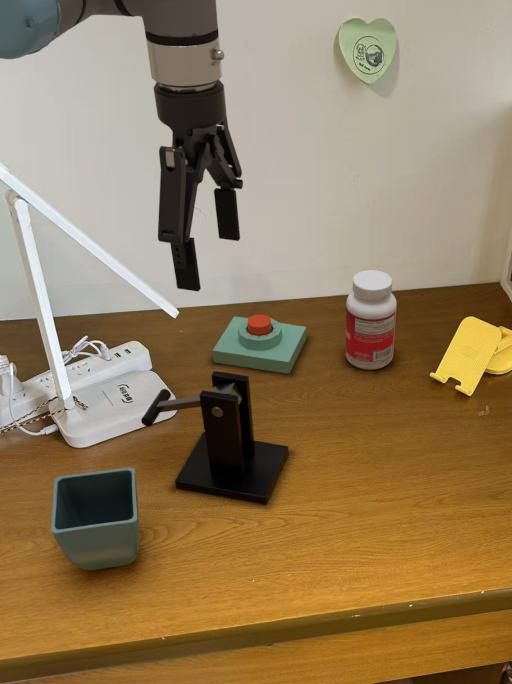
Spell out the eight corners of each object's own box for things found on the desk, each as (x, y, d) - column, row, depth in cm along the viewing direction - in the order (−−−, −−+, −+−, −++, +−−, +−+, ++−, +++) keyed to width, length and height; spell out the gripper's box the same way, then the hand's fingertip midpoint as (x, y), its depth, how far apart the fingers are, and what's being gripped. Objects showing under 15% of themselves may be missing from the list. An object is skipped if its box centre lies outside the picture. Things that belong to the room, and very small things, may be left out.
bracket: (176, 488, 98) (159, 402, 88) (204, 438, 105) (191, 354, 95) (266, 504, 96) (259, 419, 87) (288, 453, 103) (285, 368, 94)
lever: (146, 430, 95) (137, 415, 93) (165, 401, 99) (156, 386, 98) (231, 419, 90) (223, 402, 89) (247, 389, 95) (239, 373, 93)
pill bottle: (353, 340, 123) (355, 263, 114) (398, 349, 122) (404, 271, 113) (338, 366, 118) (339, 287, 109) (385, 375, 117) (390, 296, 107)
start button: (244, 335, 117) (244, 325, 116) (252, 322, 120) (251, 312, 118) (267, 338, 117) (267, 328, 115) (274, 325, 119) (274, 316, 118)
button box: (213, 362, 118) (211, 340, 115) (235, 327, 125) (233, 306, 122) (289, 374, 116) (288, 351, 114) (306, 338, 123) (306, 316, 121)
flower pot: (147, 519, 94) (134, 465, 88) (150, 574, 88) (137, 520, 81) (72, 530, 92) (53, 476, 86) (70, 587, 86) (50, 533, 80)
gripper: (173, 123, 73) (200, 317, 88) (259, 52, 91) (270, 223, 106) (100, 115, 74) (139, 307, 89) (200, 47, 92) (218, 216, 107)
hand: (210, 262), depth 97 cm, fingers open, 13 cm apart
